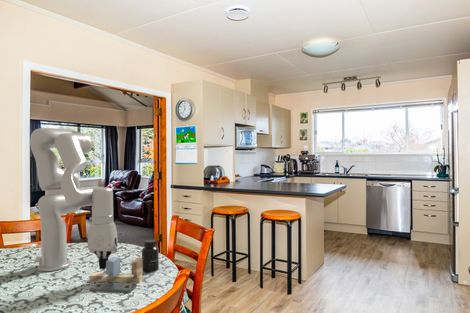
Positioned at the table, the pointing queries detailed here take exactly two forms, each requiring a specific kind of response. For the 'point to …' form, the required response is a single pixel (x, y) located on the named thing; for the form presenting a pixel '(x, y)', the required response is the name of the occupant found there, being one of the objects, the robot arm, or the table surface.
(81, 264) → the table surface
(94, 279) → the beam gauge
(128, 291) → the flange plate
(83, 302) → the table surface
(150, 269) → the supplement bottle
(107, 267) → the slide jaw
